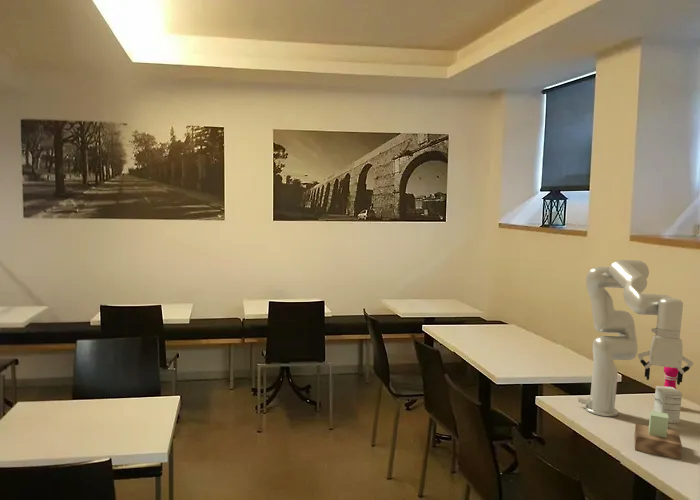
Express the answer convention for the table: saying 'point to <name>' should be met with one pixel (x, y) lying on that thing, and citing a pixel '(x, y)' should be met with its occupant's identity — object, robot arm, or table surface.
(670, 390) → the supplement box
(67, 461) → the table surface
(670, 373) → the pepper mill
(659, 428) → the sage block
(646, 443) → the walnut riser block
